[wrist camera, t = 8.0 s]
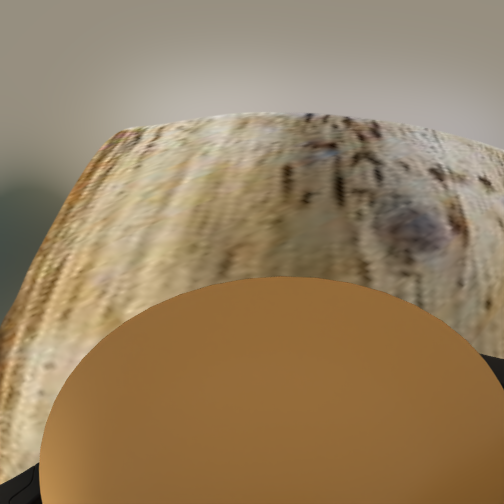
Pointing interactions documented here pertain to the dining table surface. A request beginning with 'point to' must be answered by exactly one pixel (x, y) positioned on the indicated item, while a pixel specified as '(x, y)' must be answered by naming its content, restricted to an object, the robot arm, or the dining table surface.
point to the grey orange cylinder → (278, 404)
